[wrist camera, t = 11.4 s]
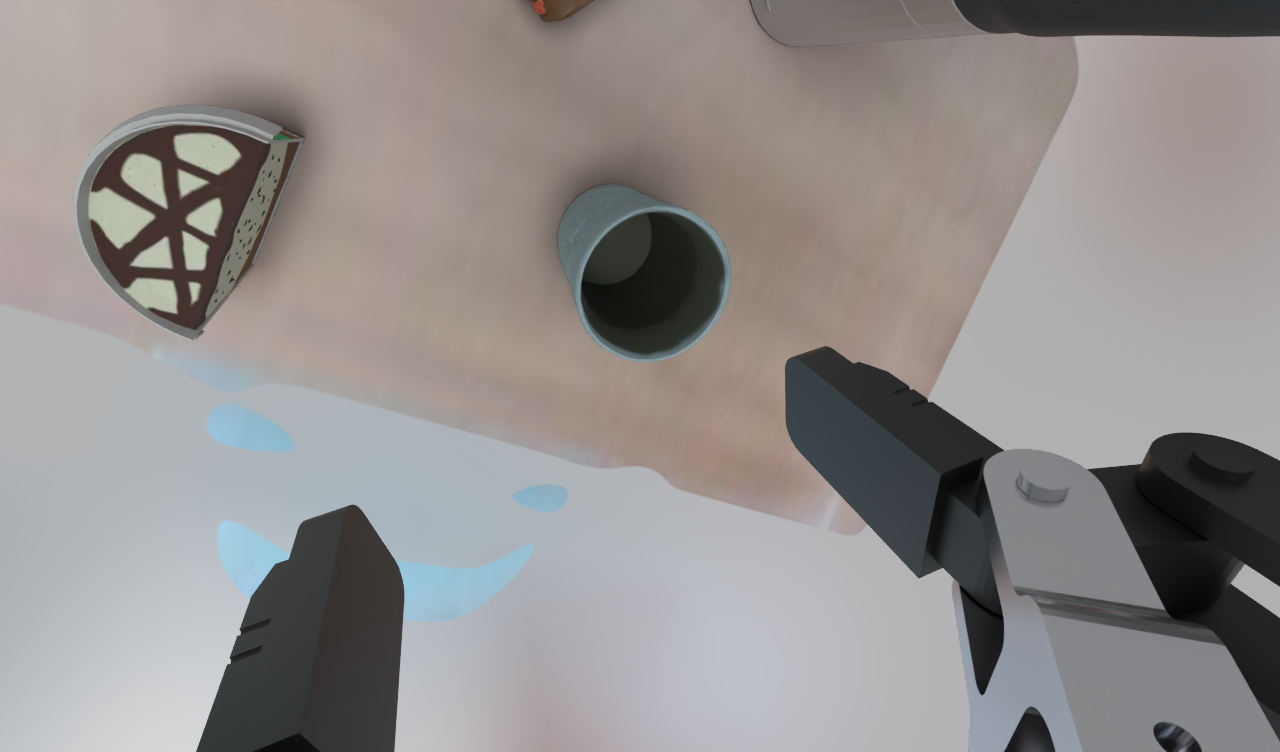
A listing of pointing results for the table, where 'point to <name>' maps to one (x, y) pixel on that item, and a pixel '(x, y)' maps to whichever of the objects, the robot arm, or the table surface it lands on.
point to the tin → (557, 8)
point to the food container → (181, 208)
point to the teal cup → (642, 272)
